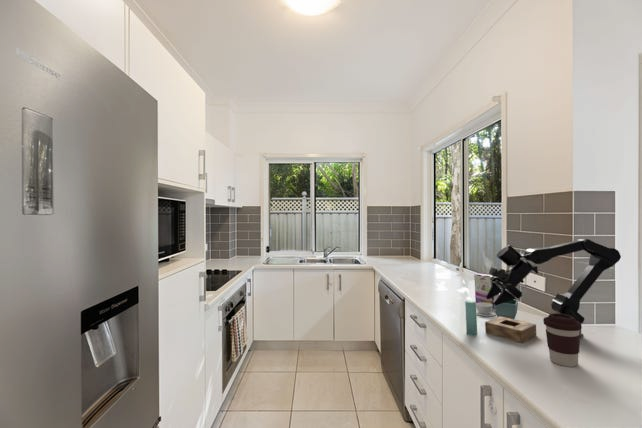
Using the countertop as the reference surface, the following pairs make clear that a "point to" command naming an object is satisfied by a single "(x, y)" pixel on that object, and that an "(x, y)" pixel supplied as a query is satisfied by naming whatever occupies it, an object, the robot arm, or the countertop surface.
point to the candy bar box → (483, 288)
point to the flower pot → (507, 309)
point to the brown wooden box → (511, 329)
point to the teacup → (484, 309)
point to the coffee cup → (563, 338)
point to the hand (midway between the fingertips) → (490, 301)
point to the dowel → (471, 317)
